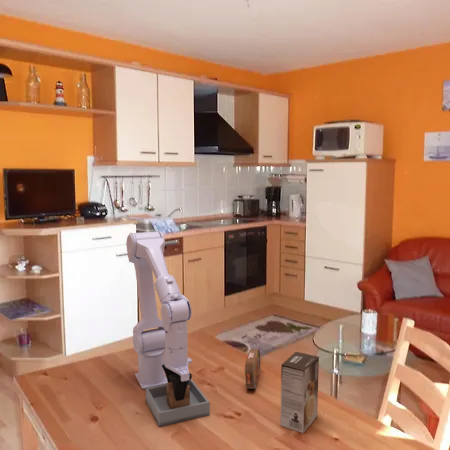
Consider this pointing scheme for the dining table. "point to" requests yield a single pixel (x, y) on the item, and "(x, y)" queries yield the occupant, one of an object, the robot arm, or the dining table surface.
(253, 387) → the tin
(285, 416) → the coffee box
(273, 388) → the dining table surface
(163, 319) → the robot arm
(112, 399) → the dining table surface
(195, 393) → the bin
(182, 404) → the block
